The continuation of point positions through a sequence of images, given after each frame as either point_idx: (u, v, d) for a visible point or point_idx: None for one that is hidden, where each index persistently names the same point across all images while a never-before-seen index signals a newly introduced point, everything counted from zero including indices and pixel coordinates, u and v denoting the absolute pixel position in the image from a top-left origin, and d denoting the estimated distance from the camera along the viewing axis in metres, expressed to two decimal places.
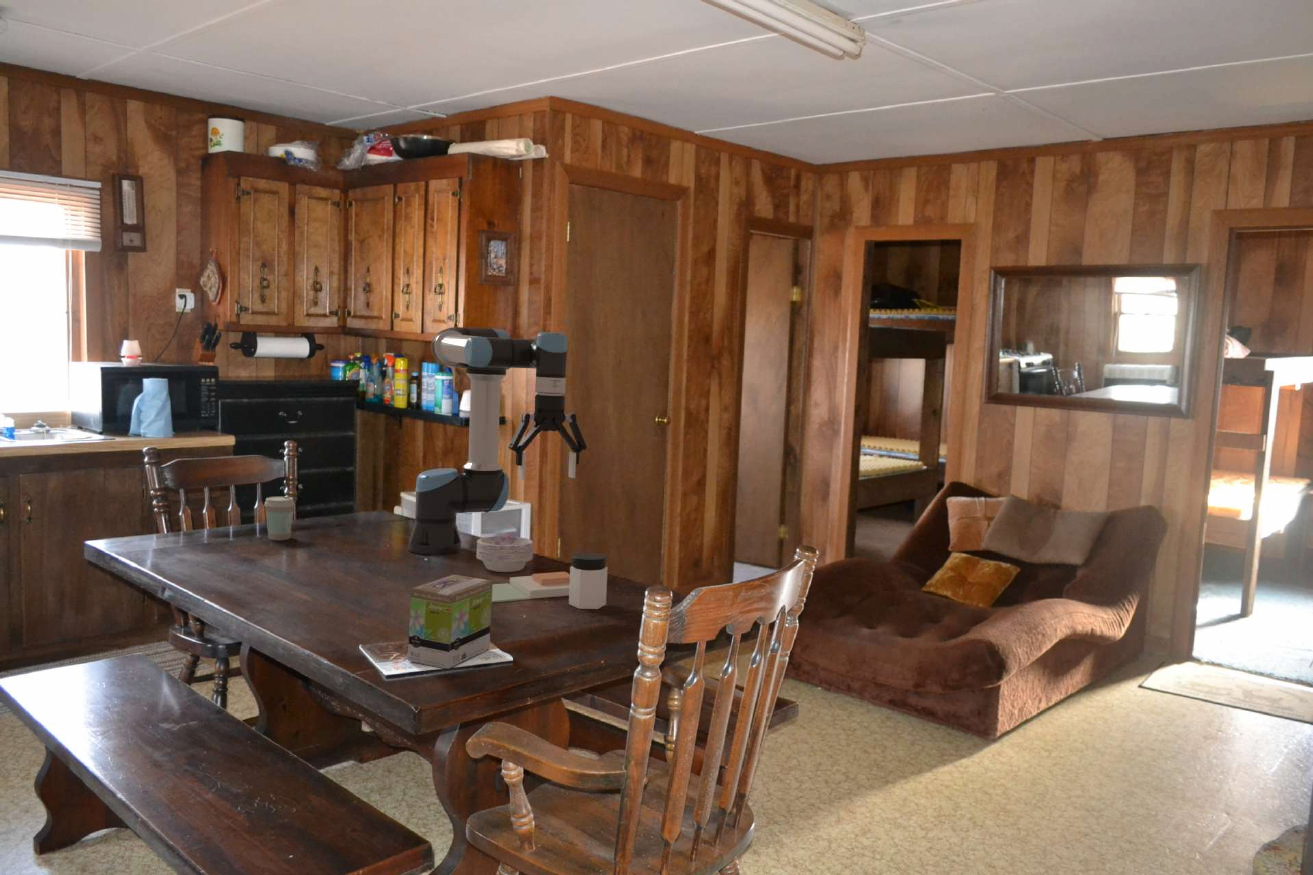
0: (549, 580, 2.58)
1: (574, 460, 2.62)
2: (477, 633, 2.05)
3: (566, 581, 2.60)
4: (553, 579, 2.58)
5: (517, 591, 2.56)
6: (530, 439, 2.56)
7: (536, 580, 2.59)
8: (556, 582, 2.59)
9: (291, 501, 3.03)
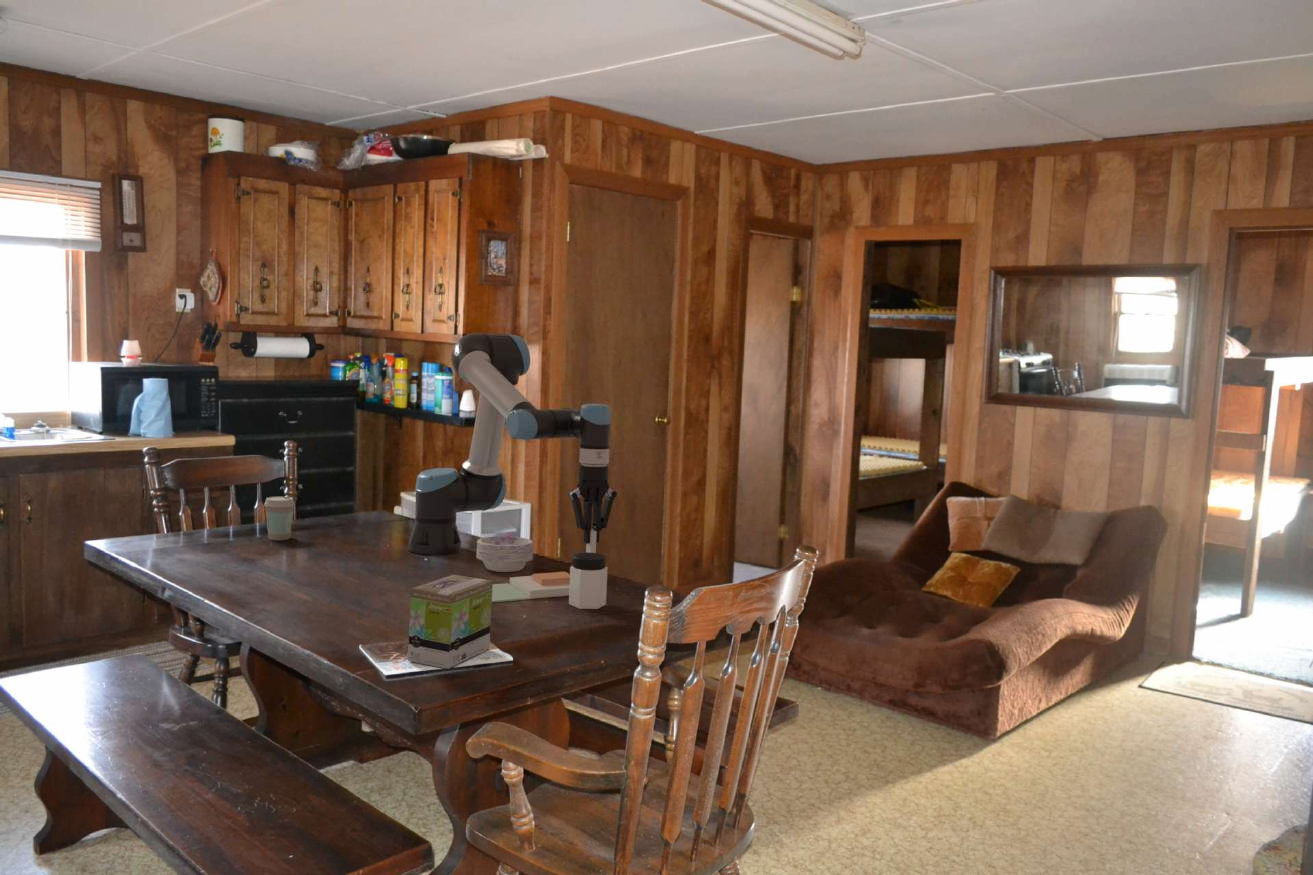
0: (549, 580, 2.58)
1: (594, 539, 2.64)
2: (477, 633, 2.05)
3: (566, 581, 2.60)
4: (553, 579, 2.58)
5: (517, 591, 2.56)
6: (589, 514, 2.63)
7: (536, 580, 2.59)
8: (556, 582, 2.59)
9: (291, 501, 3.03)
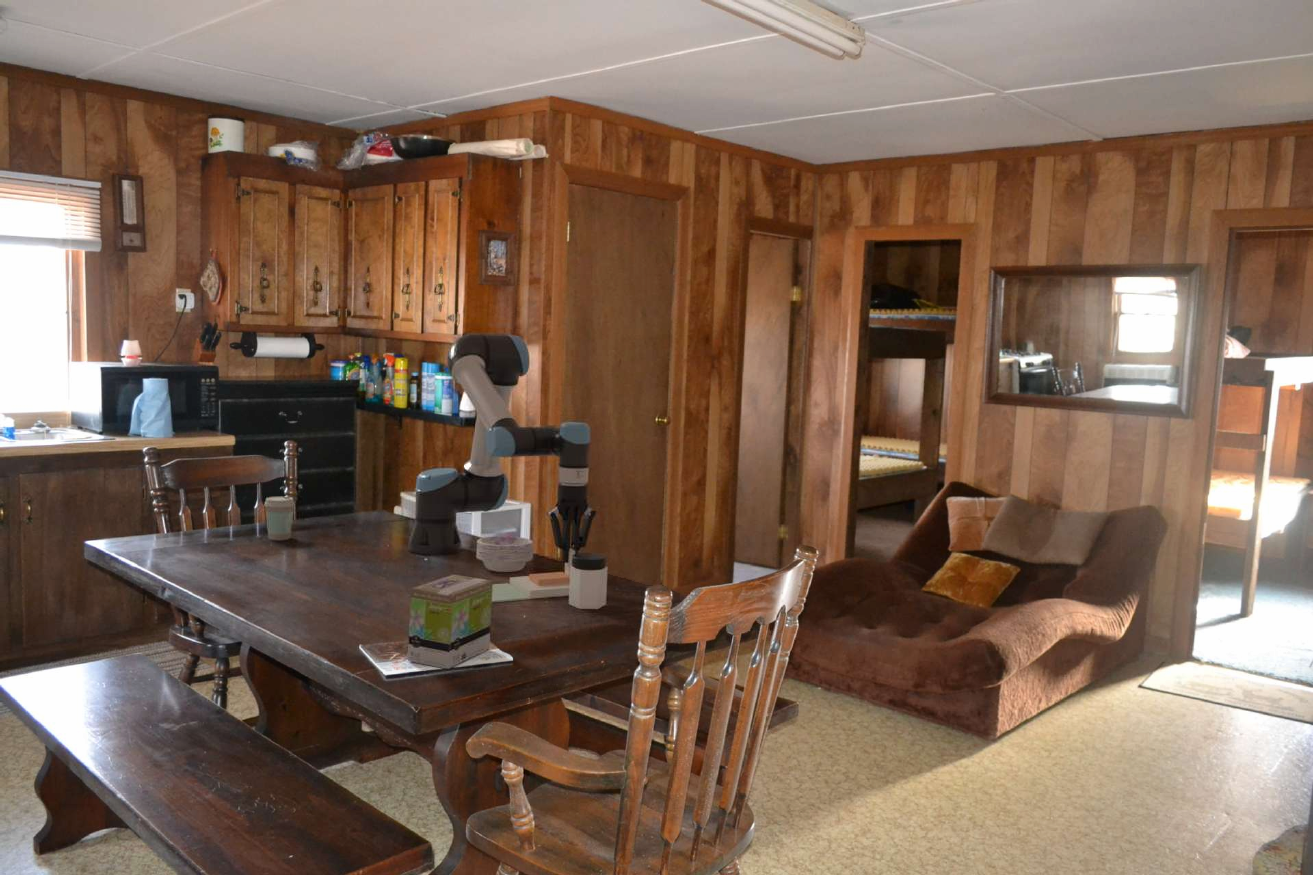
0: (546, 580, 2.57)
1: None
2: (477, 633, 2.05)
3: (563, 581, 2.59)
4: (550, 579, 2.58)
5: (517, 591, 2.56)
6: (568, 534, 2.61)
7: (533, 580, 2.59)
8: (553, 582, 2.58)
9: (291, 501, 3.03)
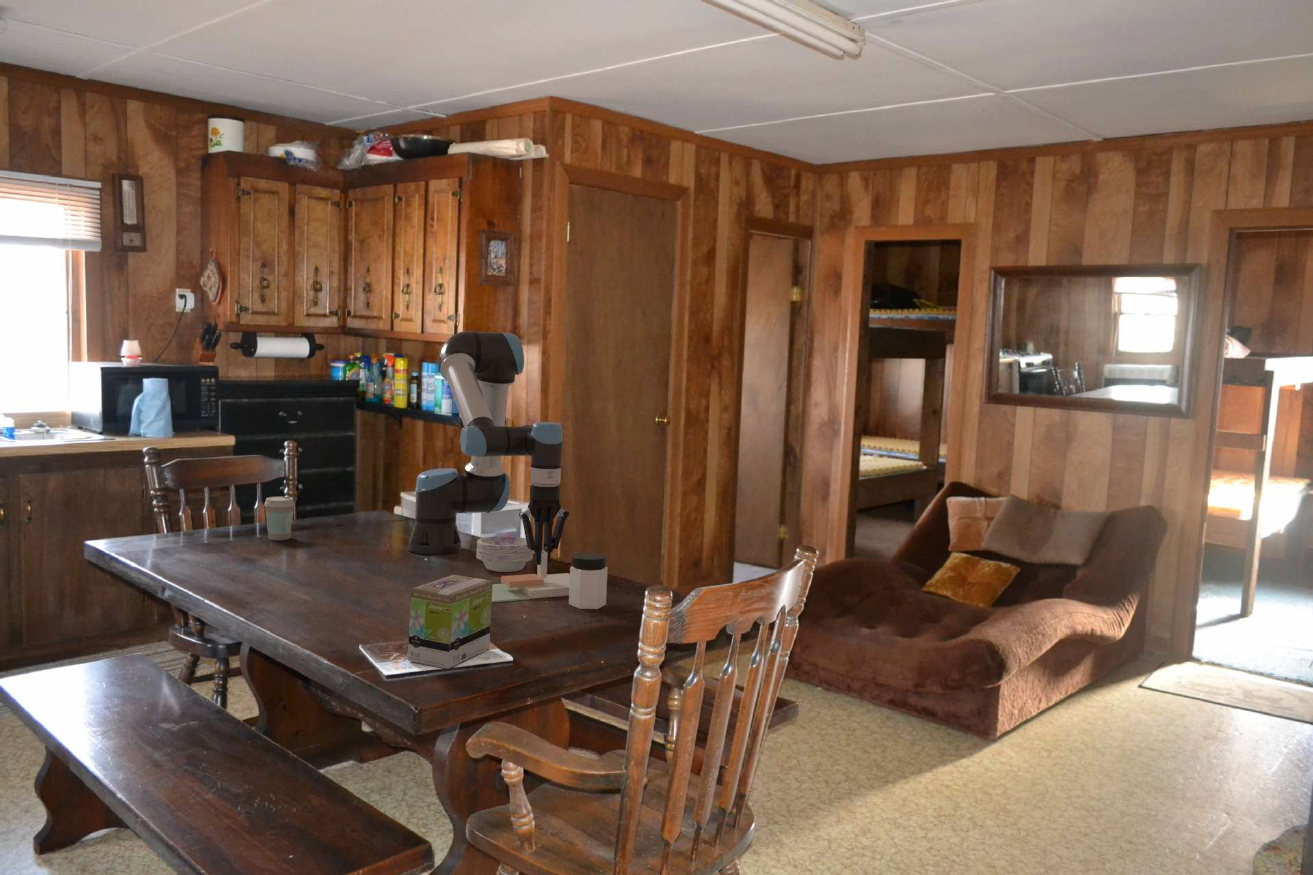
0: (518, 582, 2.54)
1: (545, 560, 2.58)
2: (477, 633, 2.05)
3: (535, 583, 2.56)
4: (522, 581, 2.54)
5: (517, 591, 2.56)
6: (540, 535, 2.57)
7: (504, 583, 2.55)
8: (525, 584, 2.55)
9: (291, 501, 3.03)
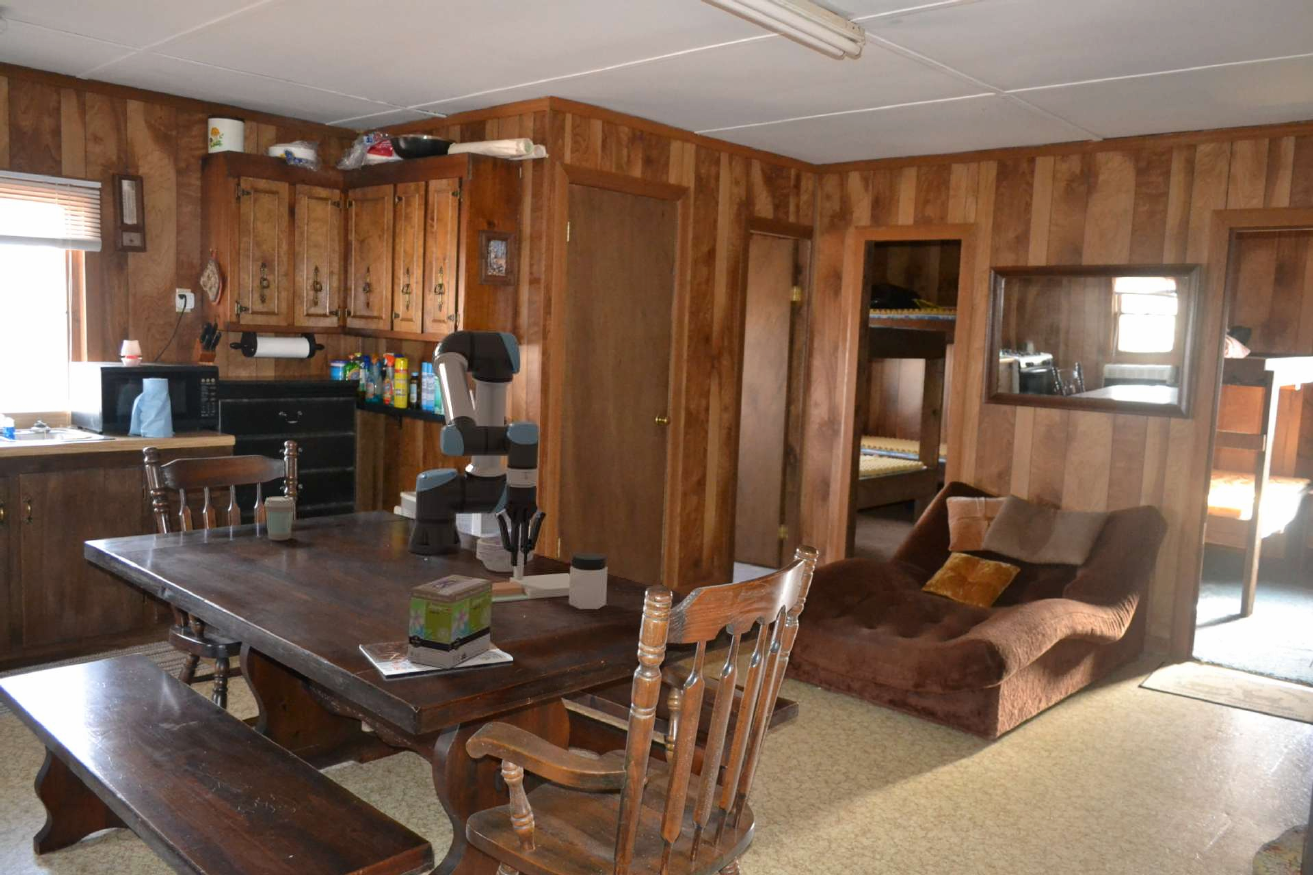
0: (496, 591, 2.51)
1: (522, 561, 2.55)
2: (477, 633, 2.05)
3: (514, 591, 2.53)
4: (500, 589, 2.52)
5: None
6: (516, 536, 2.54)
7: None
8: (503, 593, 2.52)
9: (291, 501, 3.03)
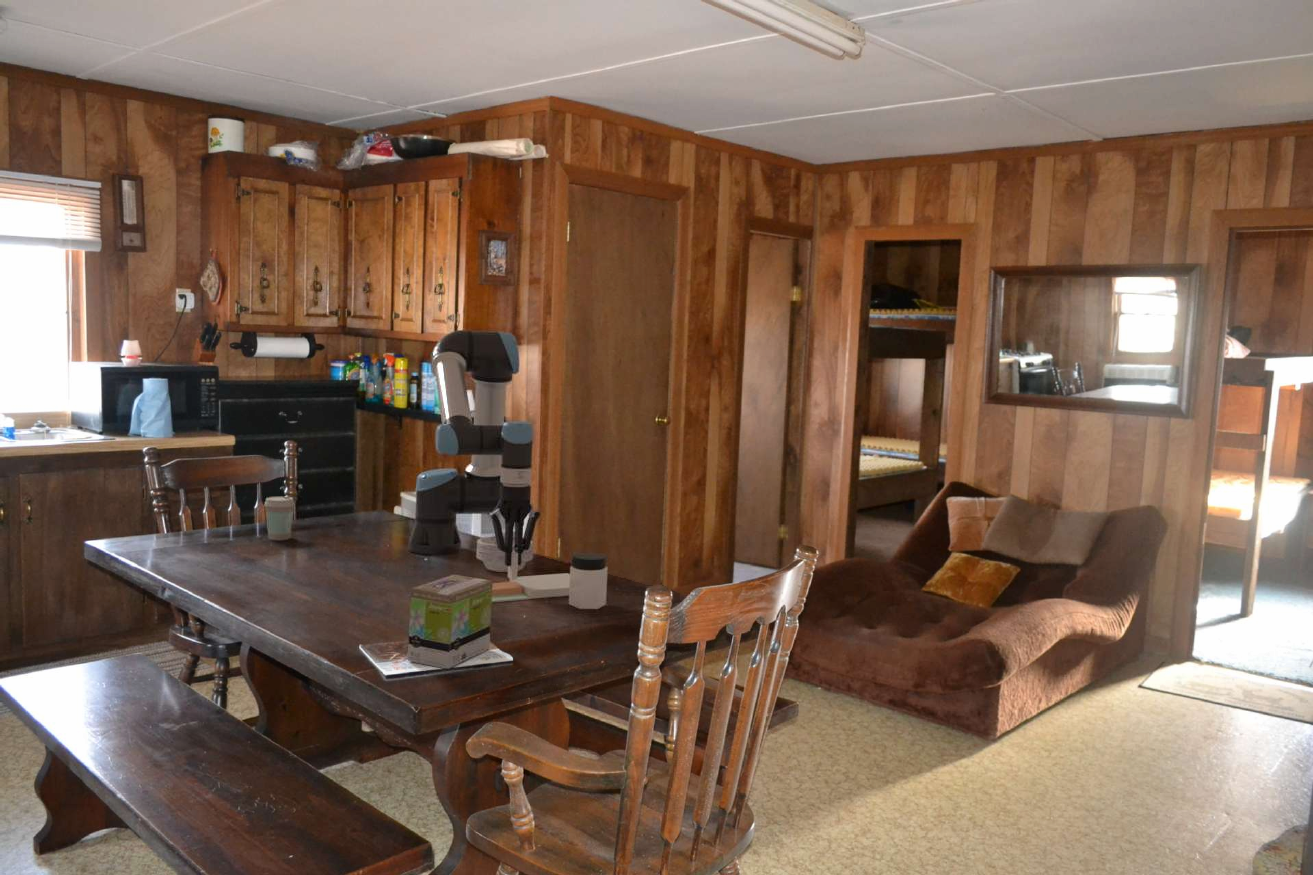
0: (496, 591, 2.51)
1: (516, 561, 2.55)
2: (477, 633, 2.05)
3: (514, 591, 2.53)
4: (500, 589, 2.52)
5: None
6: (510, 536, 2.53)
7: None
8: (503, 593, 2.52)
9: (291, 501, 3.03)
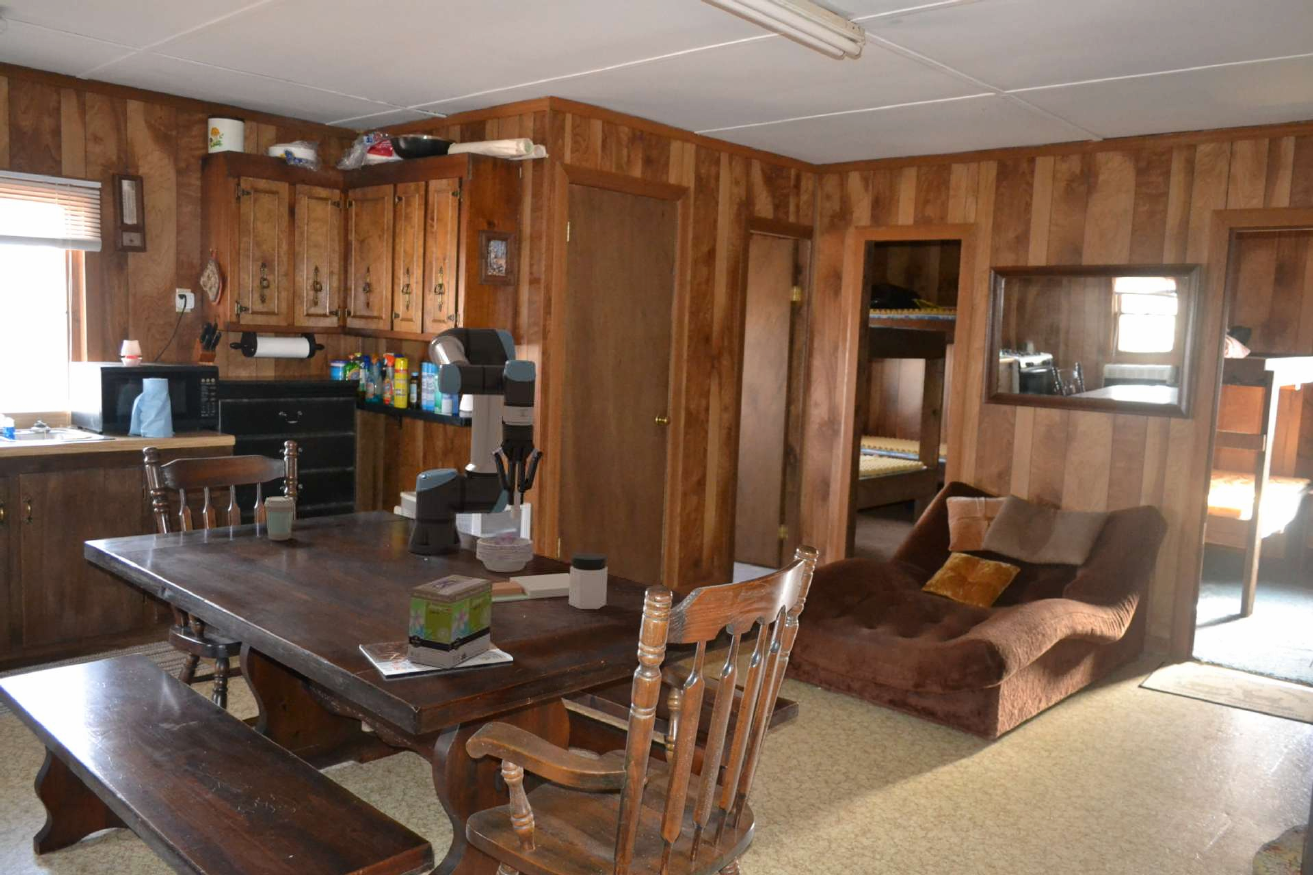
0: (496, 591, 2.51)
1: (518, 500, 2.54)
2: (477, 633, 2.05)
3: (514, 591, 2.53)
4: (500, 589, 2.52)
5: None
6: (513, 475, 2.53)
7: None
8: (503, 593, 2.52)
9: (291, 501, 3.03)
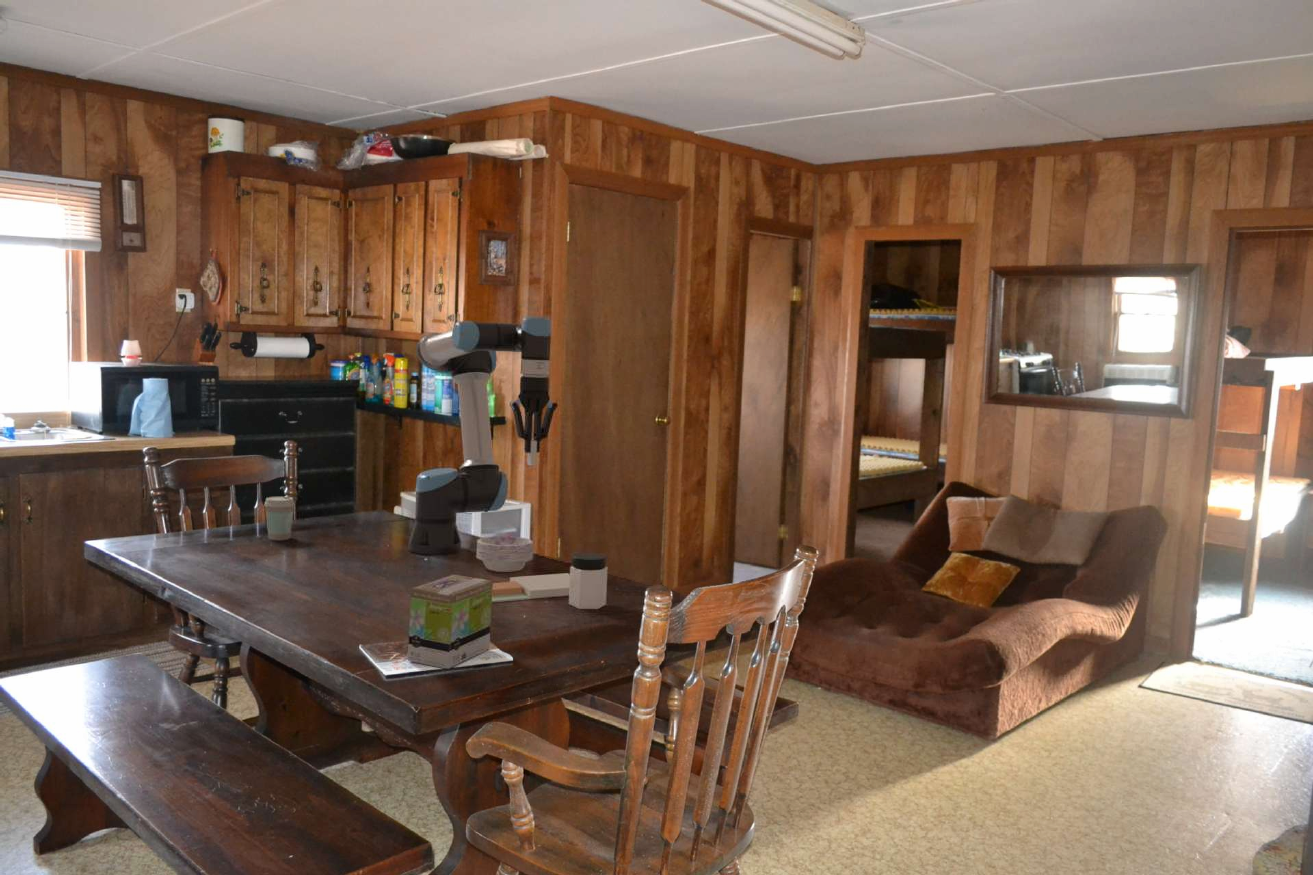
0: (496, 591, 2.51)
1: (535, 448, 2.72)
2: (477, 633, 2.05)
3: (514, 591, 2.53)
4: (500, 589, 2.52)
5: None
6: (530, 424, 2.71)
7: None
8: (503, 593, 2.52)
9: (291, 501, 3.03)
